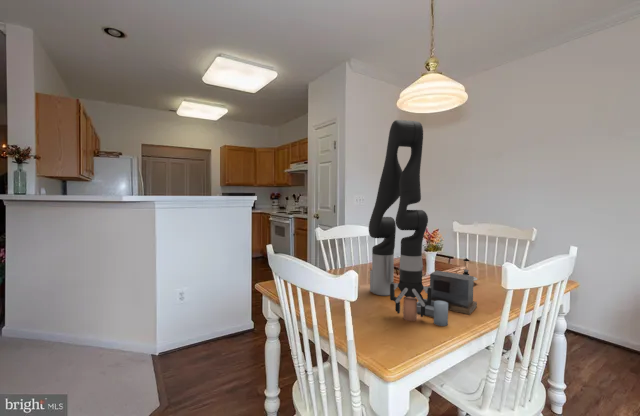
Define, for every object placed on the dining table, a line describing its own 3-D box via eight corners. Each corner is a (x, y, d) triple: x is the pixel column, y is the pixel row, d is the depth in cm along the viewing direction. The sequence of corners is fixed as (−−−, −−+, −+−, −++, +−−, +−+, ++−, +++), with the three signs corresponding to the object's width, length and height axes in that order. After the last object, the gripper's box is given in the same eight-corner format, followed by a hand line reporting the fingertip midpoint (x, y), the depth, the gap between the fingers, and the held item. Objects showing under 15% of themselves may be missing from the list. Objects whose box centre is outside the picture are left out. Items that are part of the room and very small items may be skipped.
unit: (425, 304, 121) (426, 274, 120) (434, 297, 128) (435, 269, 128) (469, 314, 110) (470, 281, 110) (476, 306, 118) (477, 276, 117)
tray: (412, 311, 113) (412, 305, 113) (422, 304, 120) (422, 298, 120) (438, 318, 107) (438, 311, 107) (447, 310, 114) (447, 304, 114)
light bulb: (477, 257, 152) (454, 255, 155) (479, 261, 142) (455, 259, 146) (476, 281, 152) (454, 279, 156) (478, 287, 143) (454, 284, 147)
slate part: (431, 323, 103) (432, 303, 103) (436, 319, 106) (436, 299, 106) (445, 327, 100) (445, 306, 100) (449, 322, 103) (450, 302, 103)
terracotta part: (401, 318, 107) (401, 299, 106) (406, 315, 110) (406, 295, 110) (413, 322, 104) (413, 301, 104) (418, 318, 107) (418, 298, 107)
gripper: (388, 268, 105) (387, 315, 106) (432, 272, 100) (431, 321, 101) (391, 263, 112) (391, 307, 113) (433, 267, 107) (432, 313, 108)
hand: (410, 314), depth 107 cm, fingers open, 7 cm apart
